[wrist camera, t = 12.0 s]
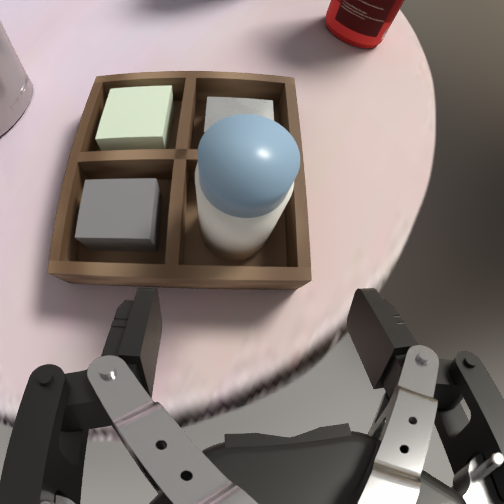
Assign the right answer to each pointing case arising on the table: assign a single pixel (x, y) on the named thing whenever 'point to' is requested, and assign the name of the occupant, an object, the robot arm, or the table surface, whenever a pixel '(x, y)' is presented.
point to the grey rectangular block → (235, 108)
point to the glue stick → (243, 183)
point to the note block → (136, 118)
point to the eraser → (120, 215)
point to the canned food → (361, 20)
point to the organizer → (179, 193)
